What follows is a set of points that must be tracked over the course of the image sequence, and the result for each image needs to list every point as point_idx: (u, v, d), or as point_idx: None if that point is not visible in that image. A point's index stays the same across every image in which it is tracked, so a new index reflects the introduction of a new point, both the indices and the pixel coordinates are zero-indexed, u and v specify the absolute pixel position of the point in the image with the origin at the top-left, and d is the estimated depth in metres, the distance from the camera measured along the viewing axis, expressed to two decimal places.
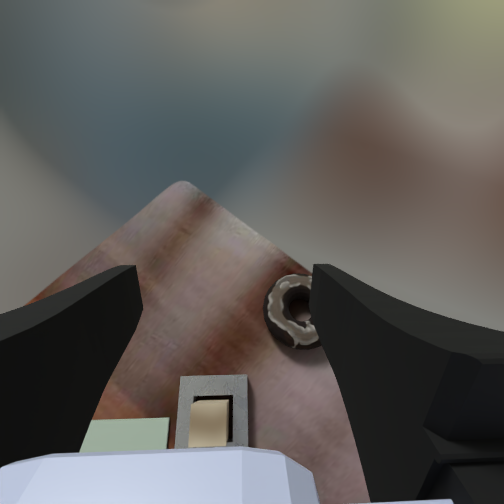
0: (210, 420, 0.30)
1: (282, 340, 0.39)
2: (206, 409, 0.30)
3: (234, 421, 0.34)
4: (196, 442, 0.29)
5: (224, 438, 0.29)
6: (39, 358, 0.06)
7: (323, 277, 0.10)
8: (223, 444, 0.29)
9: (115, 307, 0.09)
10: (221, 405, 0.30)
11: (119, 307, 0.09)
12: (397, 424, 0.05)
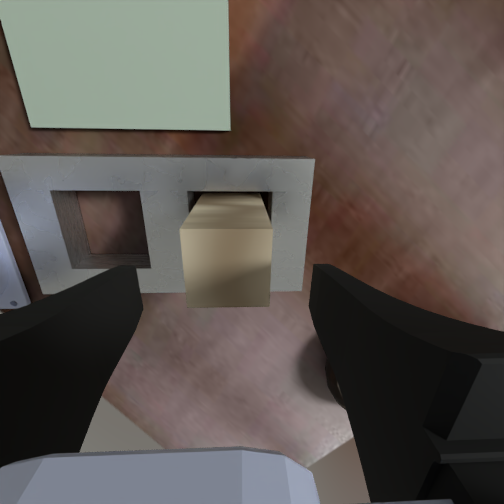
0: (235, 275, 0.12)
1: None
2: (258, 265, 0.12)
3: None
4: (190, 247, 0.12)
5: (201, 304, 0.13)
6: (38, 359, 0.06)
7: (323, 277, 0.10)
8: (189, 302, 0.13)
9: (114, 307, 0.09)
10: (264, 296, 0.13)
11: (119, 307, 0.09)
12: (397, 424, 0.05)
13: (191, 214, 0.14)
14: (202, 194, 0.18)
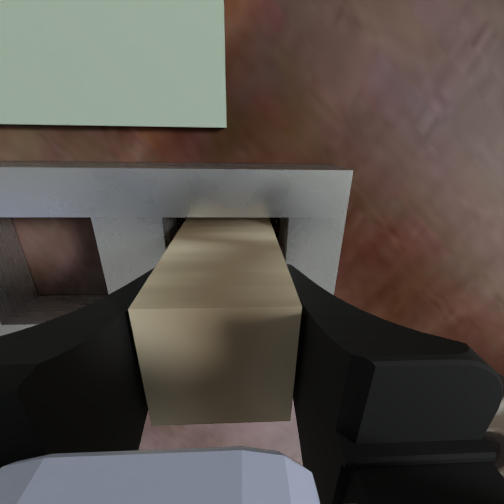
0: (232, 379, 0.07)
1: None
2: (272, 364, 0.07)
3: None
4: (151, 338, 0.06)
5: (175, 420, 0.08)
6: (112, 357, 0.06)
7: None
8: (155, 418, 0.08)
9: None
10: (283, 407, 0.08)
11: None
12: (322, 427, 0.05)
13: (161, 264, 0.08)
14: (187, 218, 0.13)
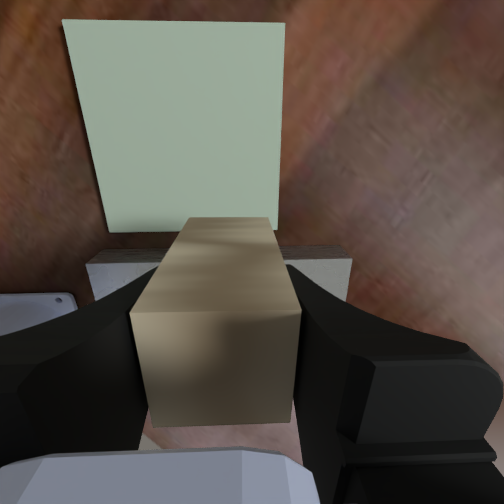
0: (232, 381, 0.07)
1: None
2: (272, 366, 0.07)
3: None
4: (152, 341, 0.07)
5: (175, 422, 0.08)
6: (113, 357, 0.06)
7: None
8: (156, 420, 0.08)
9: None
10: (283, 409, 0.08)
11: None
12: (322, 427, 0.05)
13: (162, 267, 0.08)
14: (188, 220, 0.13)
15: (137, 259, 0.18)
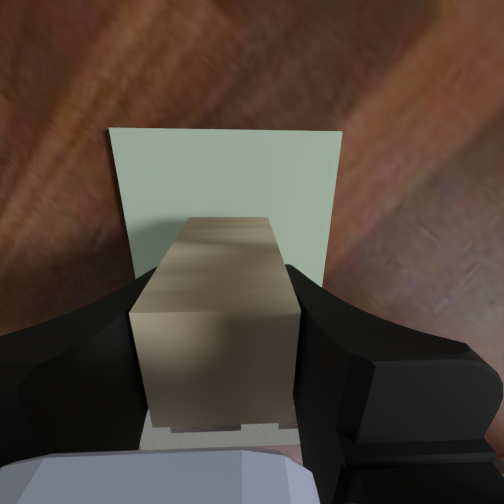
0: (232, 382, 0.07)
1: None
2: (272, 366, 0.07)
3: None
4: (151, 341, 0.07)
5: (175, 422, 0.08)
6: (112, 357, 0.06)
7: None
8: (156, 420, 0.08)
9: None
10: (282, 409, 0.08)
11: None
12: (322, 427, 0.05)
13: (161, 267, 0.08)
14: (187, 220, 0.13)
15: None
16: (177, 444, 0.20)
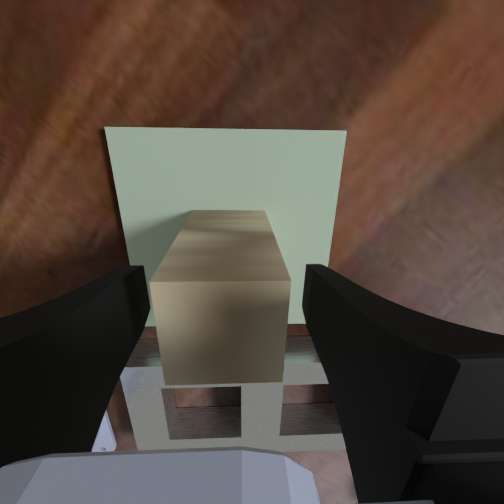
0: (234, 344, 0.08)
1: None
2: (267, 330, 0.08)
3: (308, 436, 0.20)
4: (167, 307, 0.08)
5: (184, 380, 0.09)
6: (53, 358, 0.06)
7: (314, 277, 0.10)
8: (168, 379, 0.09)
9: (124, 307, 0.09)
10: (276, 369, 0.09)
11: (128, 307, 0.09)
12: (382, 425, 0.05)
13: (172, 249, 0.10)
14: (192, 212, 0.14)
15: None
16: None
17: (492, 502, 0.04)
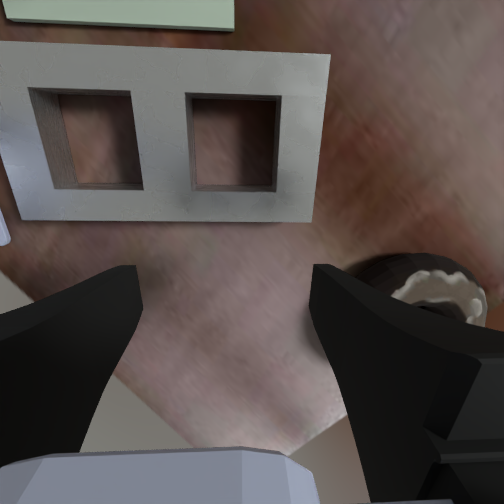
0: None
1: None
2: None
3: (227, 194, 0.16)
4: None
5: None
6: (39, 359, 0.06)
7: (323, 277, 0.10)
8: None
9: (114, 307, 0.09)
10: None
11: (119, 307, 0.09)
12: (397, 424, 0.05)
13: None
14: None
15: None
16: (66, 212, 0.16)
17: None
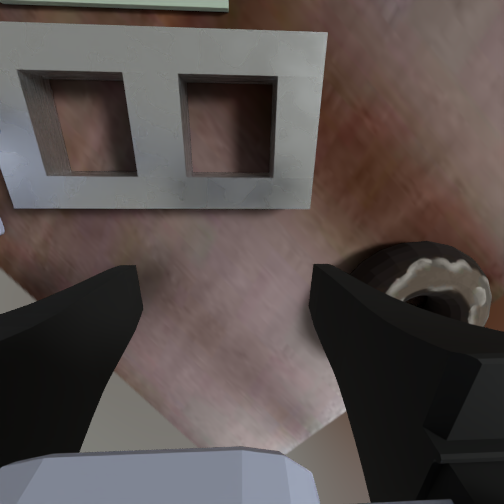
0: None
1: (363, 281, 0.19)
2: None
3: (223, 180, 0.16)
4: None
5: None
6: (39, 359, 0.06)
7: (323, 277, 0.10)
8: None
9: (114, 307, 0.09)
10: None
11: (119, 307, 0.09)
12: (397, 424, 0.05)
13: None
14: None
15: None
16: (59, 199, 0.16)
17: None
